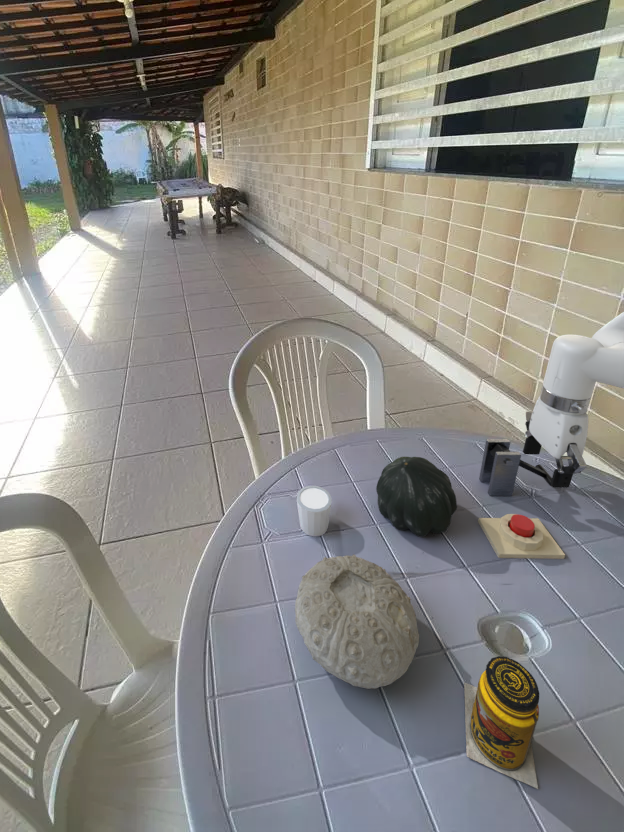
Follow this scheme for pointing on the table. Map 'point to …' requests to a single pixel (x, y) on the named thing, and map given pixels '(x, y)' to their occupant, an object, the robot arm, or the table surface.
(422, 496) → the squash
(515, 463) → the grey upright double plates
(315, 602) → the decorative shell
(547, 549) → the control block
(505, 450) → the press lever
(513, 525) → the button
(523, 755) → the condiment
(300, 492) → the white cylinder
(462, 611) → the table surface
